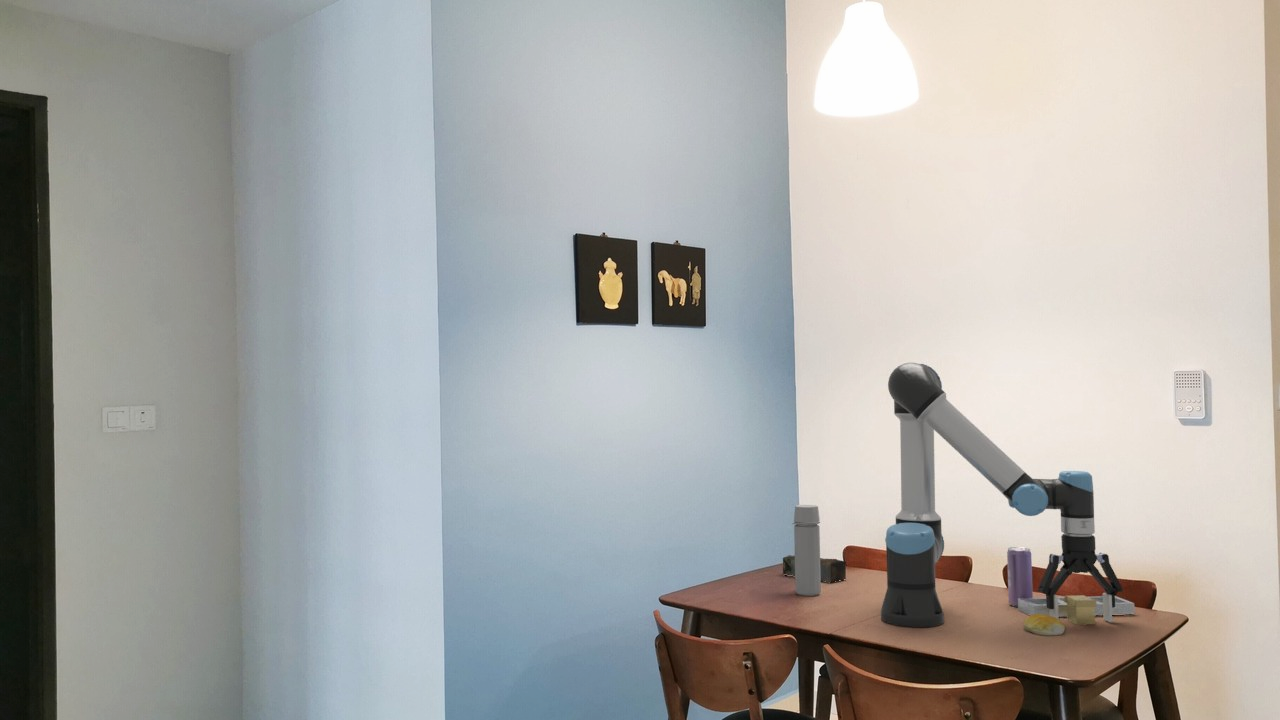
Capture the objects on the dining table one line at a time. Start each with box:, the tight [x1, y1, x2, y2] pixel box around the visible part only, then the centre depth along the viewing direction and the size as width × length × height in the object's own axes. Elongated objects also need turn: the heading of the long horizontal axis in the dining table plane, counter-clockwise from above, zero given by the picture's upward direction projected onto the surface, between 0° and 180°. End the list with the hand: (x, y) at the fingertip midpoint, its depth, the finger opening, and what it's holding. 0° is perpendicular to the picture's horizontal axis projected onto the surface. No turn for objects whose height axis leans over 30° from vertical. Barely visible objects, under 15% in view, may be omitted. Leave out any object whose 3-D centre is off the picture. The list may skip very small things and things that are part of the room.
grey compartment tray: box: [1017, 595, 1136, 618], centre depth 233 cm, size 26×8×3 cm, turn 92°
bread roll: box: [1023, 614, 1066, 636], centre depth 215 cm, size 8×9×4 cm
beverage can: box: [1006, 546, 1034, 608], centre depth 242 cm, size 6×6×15 cm
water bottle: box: [791, 504, 822, 597], centre depth 261 cm, size 9×8×25 cm
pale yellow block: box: [1063, 594, 1097, 626], centre depth 223 cm, size 5×6×6 cm
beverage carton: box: [782, 554, 847, 583], centre depth 283 cm, size 8×19×7 cm, turn 42°
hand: (1081, 621), depth 223 cm, fingers open, 13 cm apart
